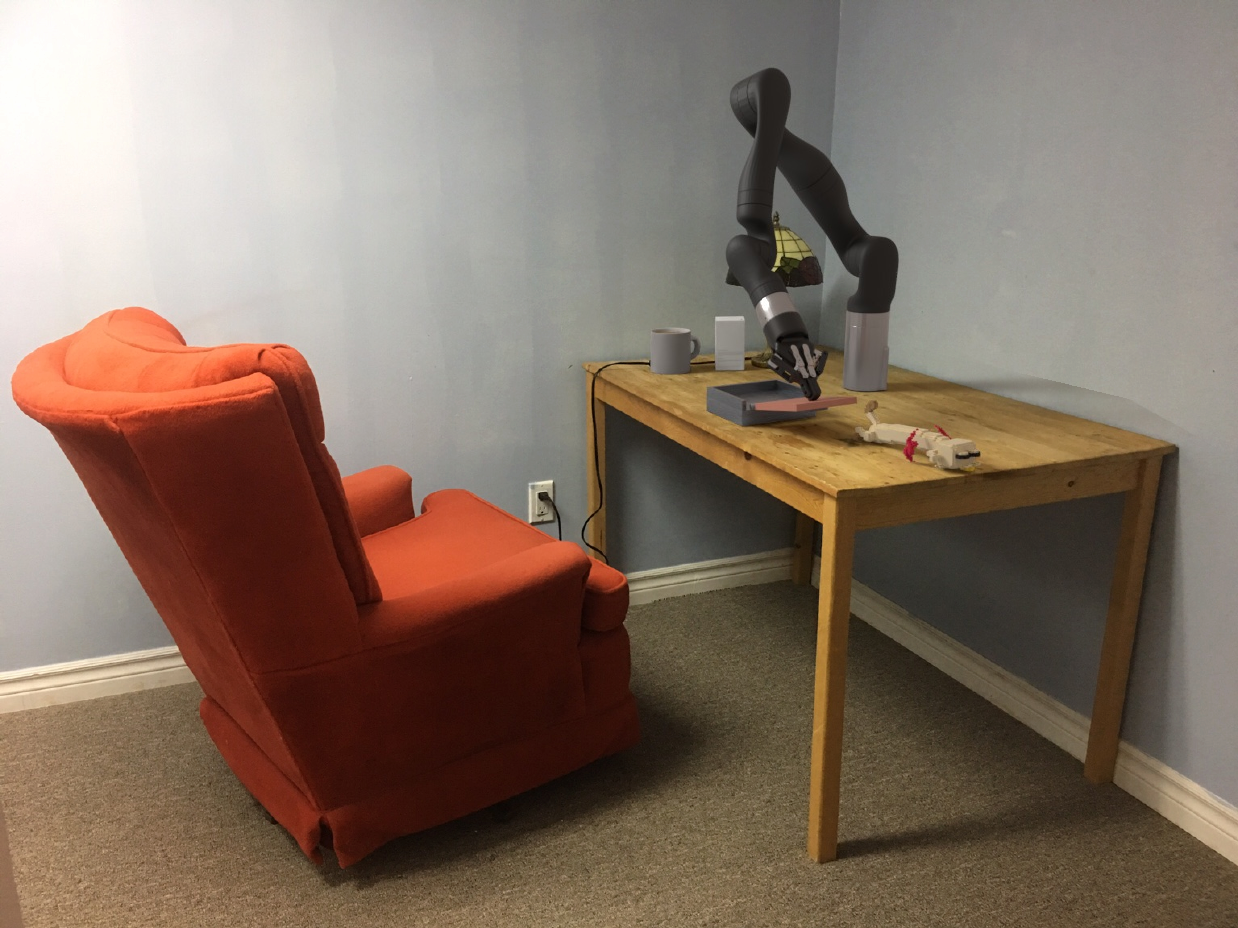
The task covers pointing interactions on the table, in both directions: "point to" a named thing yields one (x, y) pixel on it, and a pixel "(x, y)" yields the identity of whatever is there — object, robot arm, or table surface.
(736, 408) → the grey open box
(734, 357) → the supplement box
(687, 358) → the coffee mug
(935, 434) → the cream blocky figure
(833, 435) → the table surface
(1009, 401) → the table surface
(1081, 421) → the table surface
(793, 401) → the flat pink square board
